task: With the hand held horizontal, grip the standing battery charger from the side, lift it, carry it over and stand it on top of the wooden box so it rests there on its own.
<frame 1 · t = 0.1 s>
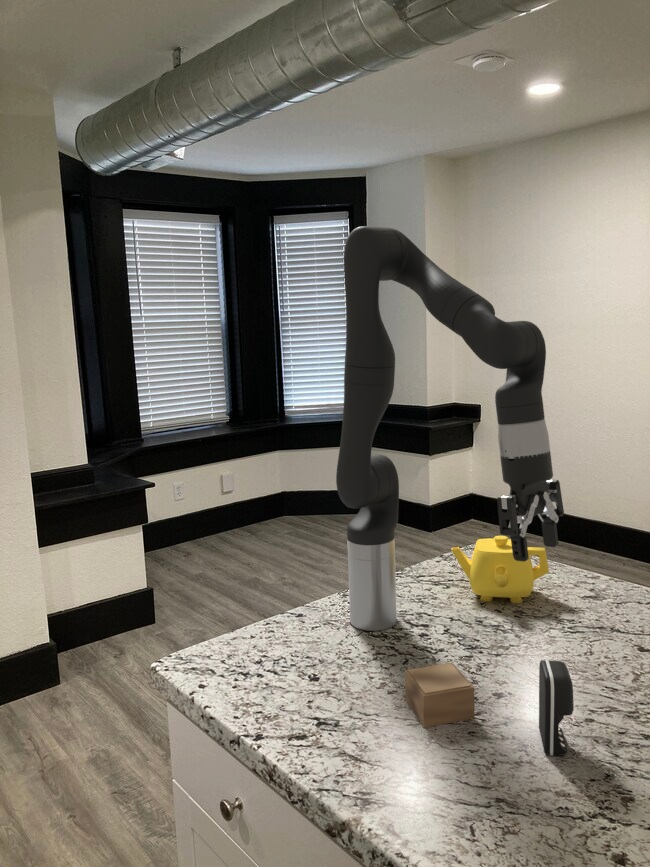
hand: (536, 553, 110), 22 cm above the countertop, tool pointing down, fingers open, 8 cm apart
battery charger: (555, 744, 99), on the countertop
wooden box: (438, 708, 108), on the countertop
teapot: (499, 597, 149), on the countertop
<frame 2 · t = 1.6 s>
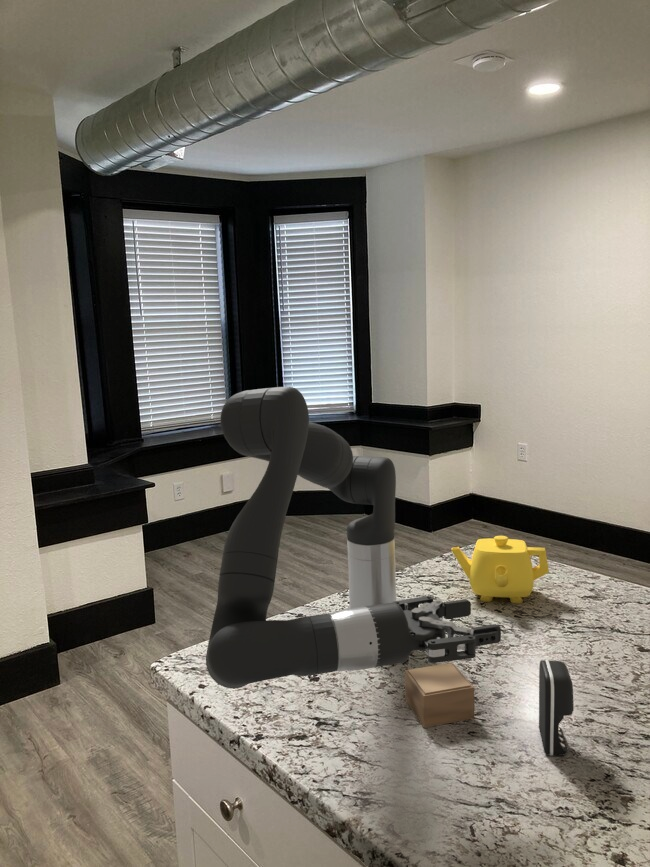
hand: (483, 619, 93), 20 cm above the countertop, tool horizontal, fingers open, 8 cm apart
nothing on the countertop moved.
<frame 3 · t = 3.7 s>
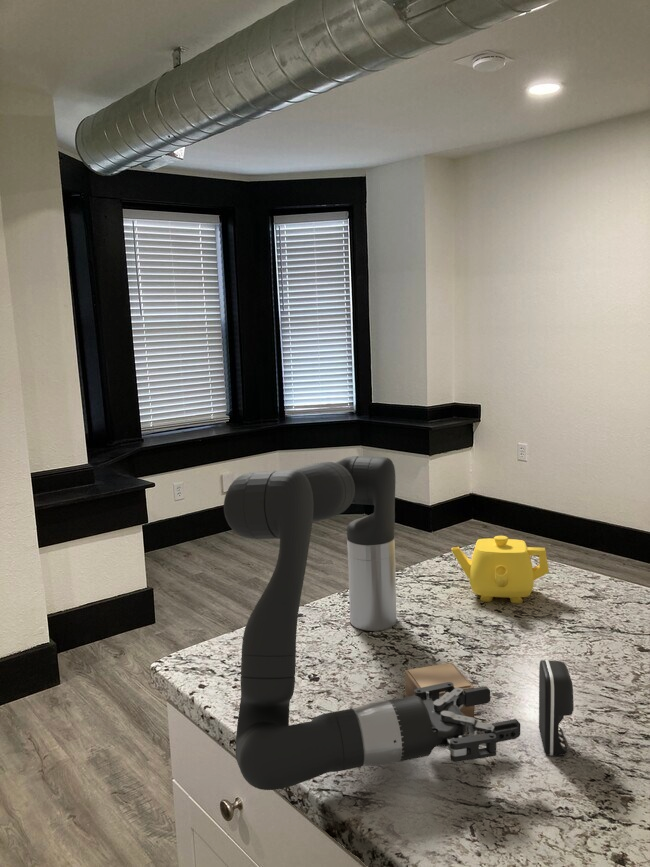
hand: (503, 710, 96), 6 cm above the countertop, tool horizontal, fingers open, 8 cm apart
nothing on the countertop moved.
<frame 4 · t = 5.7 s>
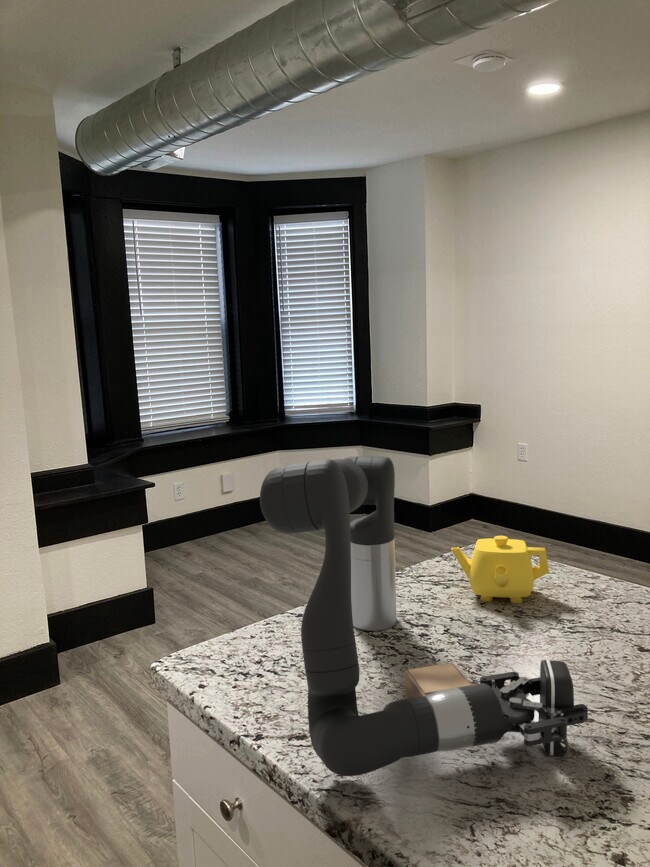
hand: (569, 697, 98), 7 cm above the countertop, tool horizontal, fingers closed on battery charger, 7 cm apart
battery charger: (556, 744, 99), on the countertop, touching gripper
everything else where it was.
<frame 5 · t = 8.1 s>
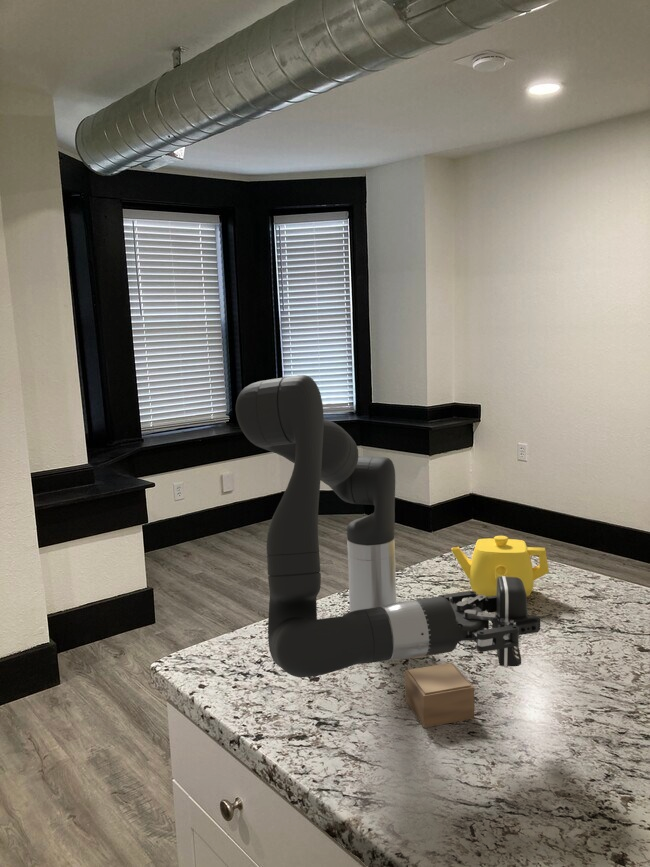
hand: (523, 611, 100), 17 cm above the countertop, tool horizontal, fingers closed on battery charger, 7 cm apart
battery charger: (510, 658, 101), point 11 cm above the countertop, touching gripper
everything else where it was.
when the fingers open (12 cm above the countertop, at t = 10.4 s): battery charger stays where it is, resting on wooden box.
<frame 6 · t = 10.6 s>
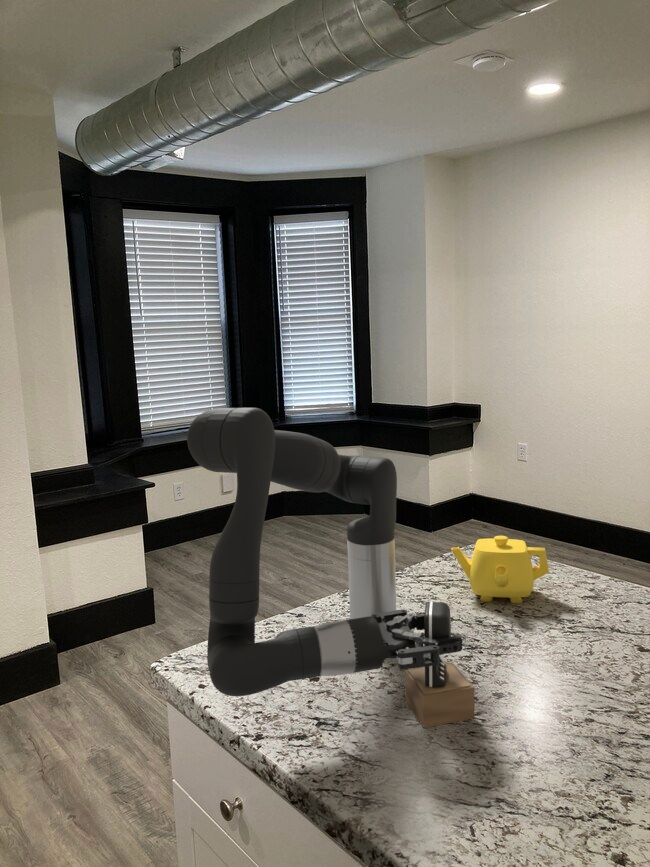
hand: (449, 630, 107), 12 cm above the countertop, tool horizontal, fingers open, 8 cm apart
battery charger: (438, 679, 107), point 5 cm above the countertop, touching wooden box
everything else where it was.
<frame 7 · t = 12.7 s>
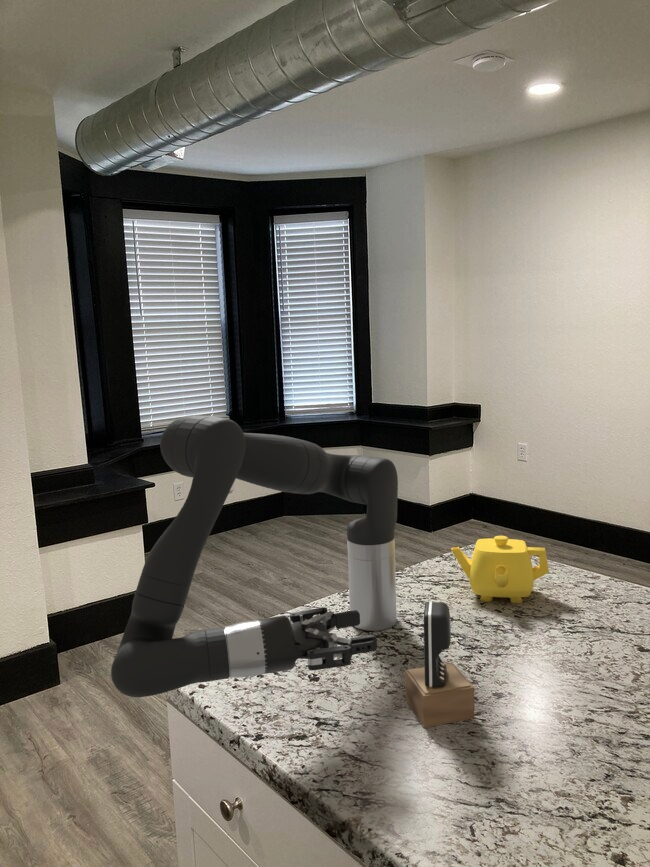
hand: (367, 629, 104), 14 cm above the countertop, tool horizontal, fingers open, 8 cm apart
nothing on the countertop moved.
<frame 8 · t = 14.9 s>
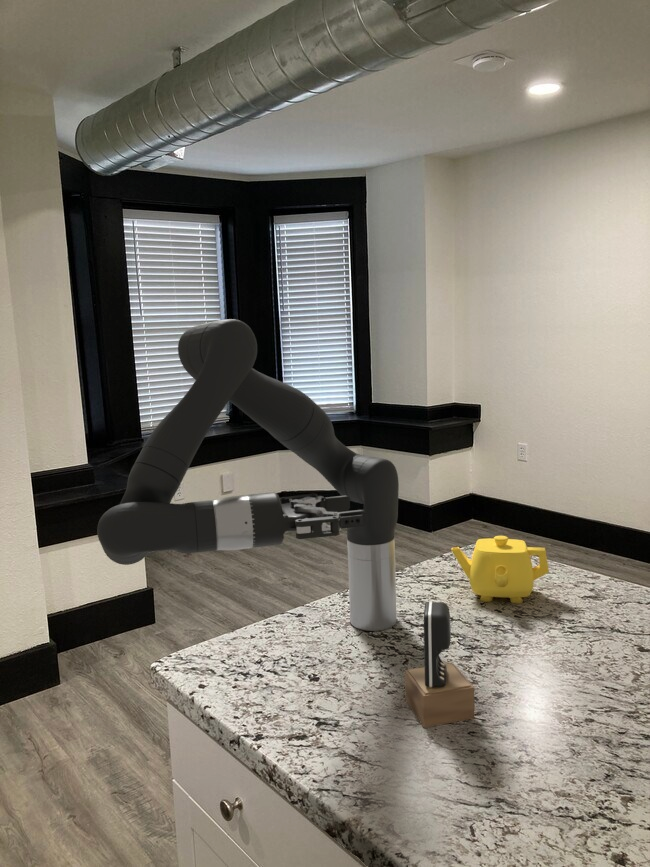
hand: (357, 509, 103), 32 cm above the countertop, tool horizontal, fingers open, 8 cm apart
nothing on the countertop moved.
at the end: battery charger inside the target area on the wooden box (0.2 cm from its centre), point 5.0 cm above the wooden box's base; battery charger tilted 0°; the gripper is holding nothing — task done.
